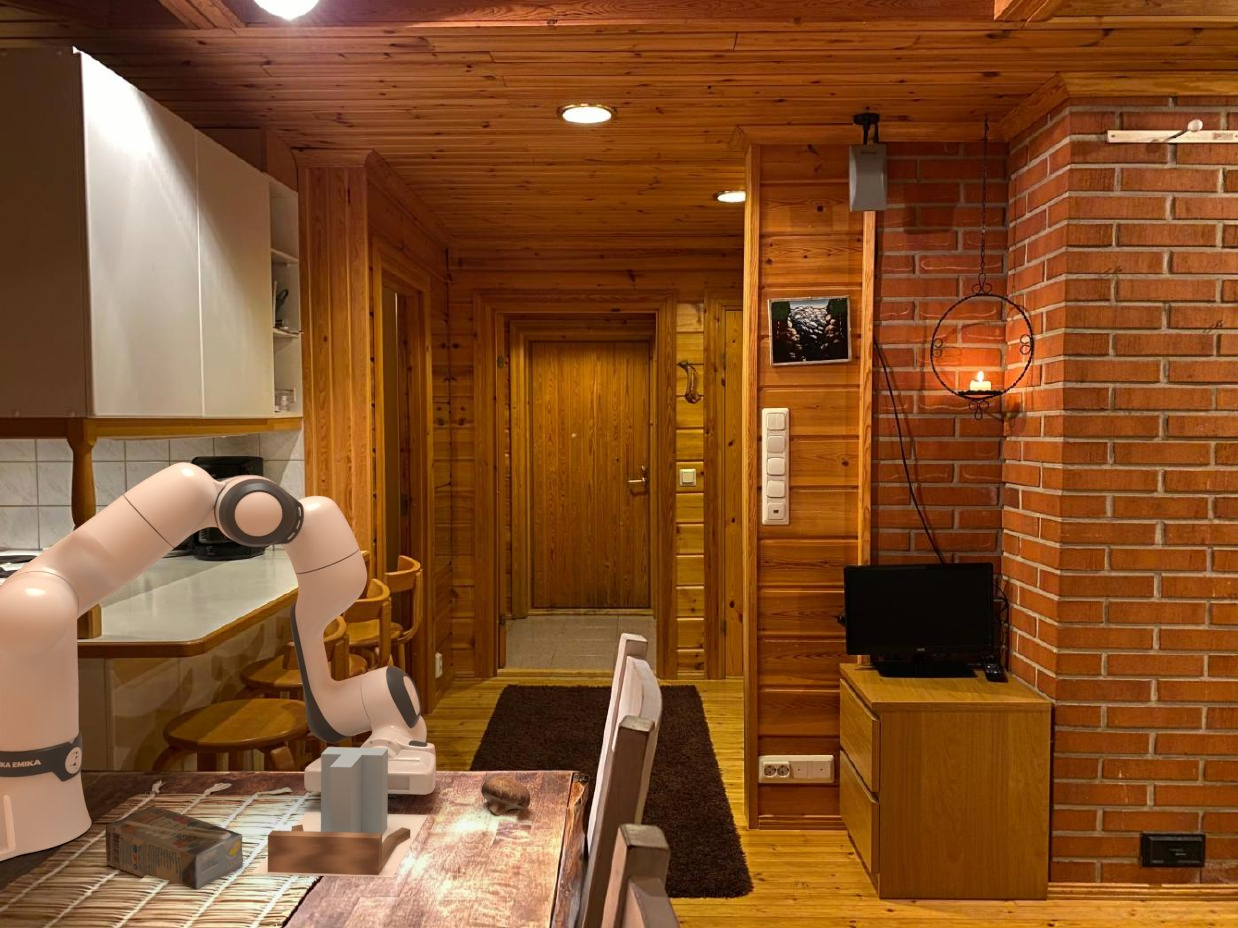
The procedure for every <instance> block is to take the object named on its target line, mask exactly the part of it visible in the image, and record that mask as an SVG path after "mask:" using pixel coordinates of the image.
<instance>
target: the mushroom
mask: <svg viewBox="0 0 1238 928" xmlns="http://www.w3.org/2000/svg"><path fill="white" fill-rule="evenodd" d="M480 792H481V794H482V795H481V796H482V797H483V798H484V799H485V800H486V801H488V803H490V806H489V807H488V810H489V811H491V812H492V813H493V814H494V815H495V816H496V817H500V816H502V815H504V814H505V813H506V812H509V811H510V810H514V809H515V810H516V809H517V810H518V811H522V810H527V809H528V808H529V806H530V805H531V794H530V791H529V790H528V788H527V787H526V786H525V784H522V783H521V782H519V781H517V780H515V779H512V778H509V777H505V776H493V777H491V778H489V779H487V780H486V781H485V782H484V783H483V784H482V785H481V790H480Z"/></svg>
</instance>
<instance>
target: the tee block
mask: <svg viewBox="0 0 1238 928" xmlns="http://www.w3.org/2000/svg"><path fill="white" fill-rule="evenodd" d="M320 755H321V756H320V757H321V792H320V812H321V832H350V833H382V835H383V834H384V832H385V831H386V829H387V814H388V799H389V798H388V797H389V796H388V748H360V747H346V746H345V747H341V746H340V747H335V746H328V747H326V749H324V750H323V751H322V753H321V754H320Z"/></svg>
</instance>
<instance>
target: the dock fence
mask: <svg viewBox="0 0 1238 928" xmlns="http://www.w3.org/2000/svg"><path fill="white" fill-rule="evenodd" d="M291 829H292V831H290V830H271V831H270V832H269V833H268V834H267V855H268V872H284V873H319V874H355V875H379V874H380V872H381V871H382V869H383V867H384V866H385V864H386V862H387V861H388V859H389V857H390V856H391V854H392V852H393V851H394V849H395V847H396V846H397V845H398V844H400V843H402V842H404V841H405V840H407V839H409V838H410V829H407V828H403V827H402V828H400V829H398V830H397V831H395V832H393V833H391V834H390V835H388V837H386V838H385V840H384V841H383V843H382V833H350V832H313V831H304V830H303V825H296V826H294V825H291Z"/></svg>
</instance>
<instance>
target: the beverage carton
mask: <svg viewBox="0 0 1238 928" xmlns="http://www.w3.org/2000/svg"><path fill="white" fill-rule="evenodd" d="M104 831H105V853H106V854H105V856H106V864H107V865H109V866H111V867H113V868H116V869H120V870H121V871H122V870H123V871H124V872H127V873H130V874H133V875H134V876H135V875H136V876H138V877H141V878H144V877H145V876H146V875H150V876H153V877H156V878H158V879H162V880H166V881H169V882H173V883H175V884H179V885H183V886H186V887H190V888H192V889H194V890H198V889H201V888H203V887H204V886H206V885H208V884H210V883H212V882H214V881H216V880H218V879H220V878H222V877H225V876H227V875H228V874H230V873H233V872H235V871H237V870H239V869H241V868H243V864H244V863H243V862H244V859H243V857H244V855H243V854H244V853H243V834H242V833H239V832H236V831H233V830H230V829H227V828H224V827H222V826H218V825H216V824H212V823H209V822H206V821H204V820H200V819H197V818H194V817H191V816H188V815H185V814H182V813H178V812H176V811H172V810H170V809H168V808H163V807H159V806H156V805H150V806H149V807H146V808H145V809H143V810H139V811H138V812H132V813H131V814H128V815H127V816H125V817H123V818H121V819H118V820H114V821H113V822H110V823H108V824H106V826H105V830H104Z"/></svg>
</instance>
